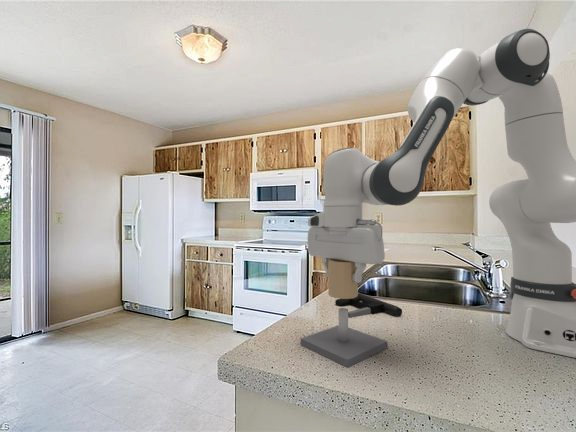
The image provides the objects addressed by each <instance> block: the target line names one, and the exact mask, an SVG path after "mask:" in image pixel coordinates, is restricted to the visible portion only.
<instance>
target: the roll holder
mask: <svg viewBox="0 0 576 432" xmlns="http://www.w3.org/2000/svg"><path fill="white" fill-rule="evenodd" d="M348 312H349V308H346V307H340V308H338V313H337V315H338V325H335V326H333V327H330V328H327V329H324V330H321V331H318V332H315V333H312V334H310V335H306V336H303V337H301V338H300V346H302V347H304V348H306V349H309V350H310V351H313V352H315V353H317V354H319V355H321V356H323V357H325V358H327V359H329V360H332V361H334V362H335V363H338V364H340V365H342V366H344V367H345V368H349V367H351V366H354V365H355V364H357V363H360V362H361V361H363V360H366V359H367V358H369V357H371V356H374V355H376V354H378V353H380V352H382V351H384V350H386V349H388V346H389V343H388V340H386V339H383V338H380V337H377V336H374V335H371V334H368V333H365V332H362V331H360V330H357V329H354V328H351V327H349V317H348Z"/></svg>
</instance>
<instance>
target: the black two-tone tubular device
mask: <svg viewBox="0 0 576 432" xmlns="http://www.w3.org/2000/svg"><path fill="white" fill-rule="evenodd" d="M345 305H346V306H351V307H353V306H354V308H356V309H354V310H351V311H348V318H357V317H362V316H367V315H378V314H383V313H386V314H389V315H391V316H394V317H401V315H402V314H403V309H402V308H401V307H399V306H398V305H394V304H391V303H389V302H387V301H383V300H380V299H377V298H374V297H372V296H370V295H369V296H368V295H365V294H363V293H360V292H358V296H357V297H355V298H352V299H340V298H336V300H335V306H337V307H344V306H345ZM346 306H345V307H346Z"/></svg>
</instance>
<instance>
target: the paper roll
mask: <svg viewBox="0 0 576 432" xmlns="http://www.w3.org/2000/svg"><path fill="white" fill-rule="evenodd" d="M356 270H357V267H355V262H351V261H344V260H337V259H330V260H328V277H327V279H328V284H327V285H328V296H329V297H330V298H335V299H352V298H355V297H357V296H358V293H359V291H358V290H359V289H358V287H359V285H358V284H359V283H356V282H352V274H355V272H356Z"/></svg>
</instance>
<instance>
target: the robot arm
mask: <svg viewBox="0 0 576 432" xmlns="http://www.w3.org/2000/svg"><path fill="white" fill-rule="evenodd" d="M550 58H551V54H550V46H549V43H548V40H547V38H546V37H545V36H544V35H543V34H542V33H540V31H538V30H536V29H532V28H523V29H519V30H518V31H514V32H513V33H510V34H508V35H506V36H505V37H503V38H502V39H501V40H500V41H498V42H497V43H495V44H493V45H492V46H490V47H489V48H487V49H486V50H484V51H483V52H482V53H481V54H479V55H477V54H476V53H475V52H474V51H473V50H471V49H469V48H465V47H456V48H452V49H450V50H448V51H445V53H444V54H442V56H440V57H439V59H437V61H435V63H434V64H433V65H432V66H431V67H430V69H429V70H427V72H426V73H425V75H424V76H423V78H422V79H421V80H420V81H419V84H418V85H417V86H416V87H415V89H414V90H413V93H412V95H411V97H410V99H409V101H408V104H407V113H408V116H409V118H410V120H411V121H412V122H413V125H412V126H411V127H410V129H409V131H408V133H407V134H406V136H405V137H404V140H403V141H402V142H401V145H400V146H399V148H398V149H397V150H395V152H393V153H392V154H390V155H388V156H386V157H385V158H383V159H382V160H380V161H378V160H375V159H372V158H371V157H369V156H367V155H366V154H364V153H363V152H361V151H360V149H359V148H357V147H344V148H341V149H337V150H334V151H332V152H331V153H330V154H328V156H326V158H325V161H324V165H323V176H322V177H323V178H322V179H323V184H322V185H323V186H322V187H323V192H324V202H323V205H322V206H323V207H322V208H323V211H320V212H319V213H317V214H315V215H313V216H310V217H308V219H307V225H308V227H309V229H308V231H307V252H308V254H309V256H311V257H318V258H321V263H322V265H323V267H324V269H325V277H327V278H328V260H330V259H337V260H344V261H351V262H355V267H357V270H356V272H355V274H352V282H356V283H358V284H359V283H362V281H363V280H362V278H363V273H364V272H365V270H366V268H367V265H378V264H382V263H383V262H384V260H385V255H386V253H385V246H384V238H383V226H382V224H381V223H380V222H378V221H377V220H376V219H363V204H364V203H365V204H370V205H373V206H387V205H388V206H389V205H390V206H396V207H397V206H403V205H407V204H409V203H411V202H412V201H414V200H415V199H416V198H417V197H418V196H419V194H420V192H421V191H422V189H423V185H424V182H425V177H426V176H425V175H426V172H427V167H428V164H429V162H430V160H431V158H432V157H433V155H434V154H435V152H436V150H437V148H438V146H439V145H440V142H441V141H442V139H443V138H444V135H445V134H446V132H447V130H448V128H449V127H450V124H451V122H452V120H453V119H454V117H456V115H457V113H458V112H459V110H460V109H461V107H462V106H463V104H464V105H466V106H469V107H470V106H472V107H473V106H479V105H483V104H485V103H487V102H489V101H490V100H493V99H495V98H499V99H500V101H501V103H502V104H503V107H504V129H505V140H506V149H507V155H508V158H509V159H511V160H512V161H514V162H516V163H518V164H520V165H521V167H523V169H524V171H525V172H526V175H527V179H519V180H512V181H510V182H507V183H504V184H502V185H500V186H498V187H496V188H495V189H493V191H492V192H491V194H490V196H489V201H488V202H489V208H490V210H491V213H492V214H493V215H494V216H495V217H497V218H498V219H499V220H500V222H501V223H502V225H503V226H504V229H505V231H506V233H507V235H508V239H509V243H510V245H511V255H512V257H511V258H512V276H511V277H510V284H509V287H510V288H509V291H510V292H509V293H510V299H511V308H510V314H509V318H508V322H507V326H506V328H505V333H506V335H508V336H509V337H510V338H512V339H514V340H515V341H518V342H519V343H521V344H522V345H523V346H524V347H526V348H529V349H532V350H536V351H542V352H546V353H551V354H556V355H561V356H565V357H568V358H569V357H570V358H575V359H576V283H574V282H573V267H572V266H573V264H572V262H573V261H572V259H573V258H572V257H573V255H572V251H571V248H570V246H568V244H567V243H565V242H564V241H562V240H561V239H559V238H558V237H557V236H556V234H555V232H554V230H553V229H552V226H551V223H552V224H570V223H571V224H572V223H576V160H575V157H574V156H573V155H572V153H571V151H570V148H569V145H568V140H567V134H566V127H565V118H564V110H563V104H562V103H563V102H562V97H561V95H560V92H559V91H560V90H559V88H558V85H557V81H556V79H555V77H554V76H553V75H552V74H550V73H548V72H549V67H550Z"/></svg>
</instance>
